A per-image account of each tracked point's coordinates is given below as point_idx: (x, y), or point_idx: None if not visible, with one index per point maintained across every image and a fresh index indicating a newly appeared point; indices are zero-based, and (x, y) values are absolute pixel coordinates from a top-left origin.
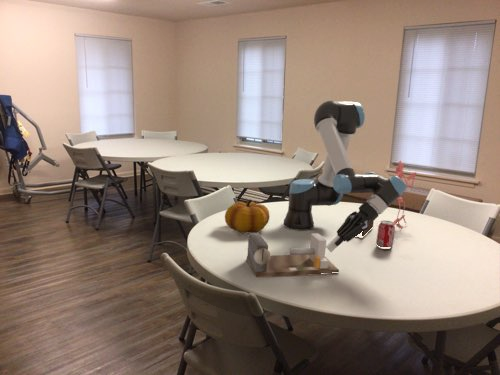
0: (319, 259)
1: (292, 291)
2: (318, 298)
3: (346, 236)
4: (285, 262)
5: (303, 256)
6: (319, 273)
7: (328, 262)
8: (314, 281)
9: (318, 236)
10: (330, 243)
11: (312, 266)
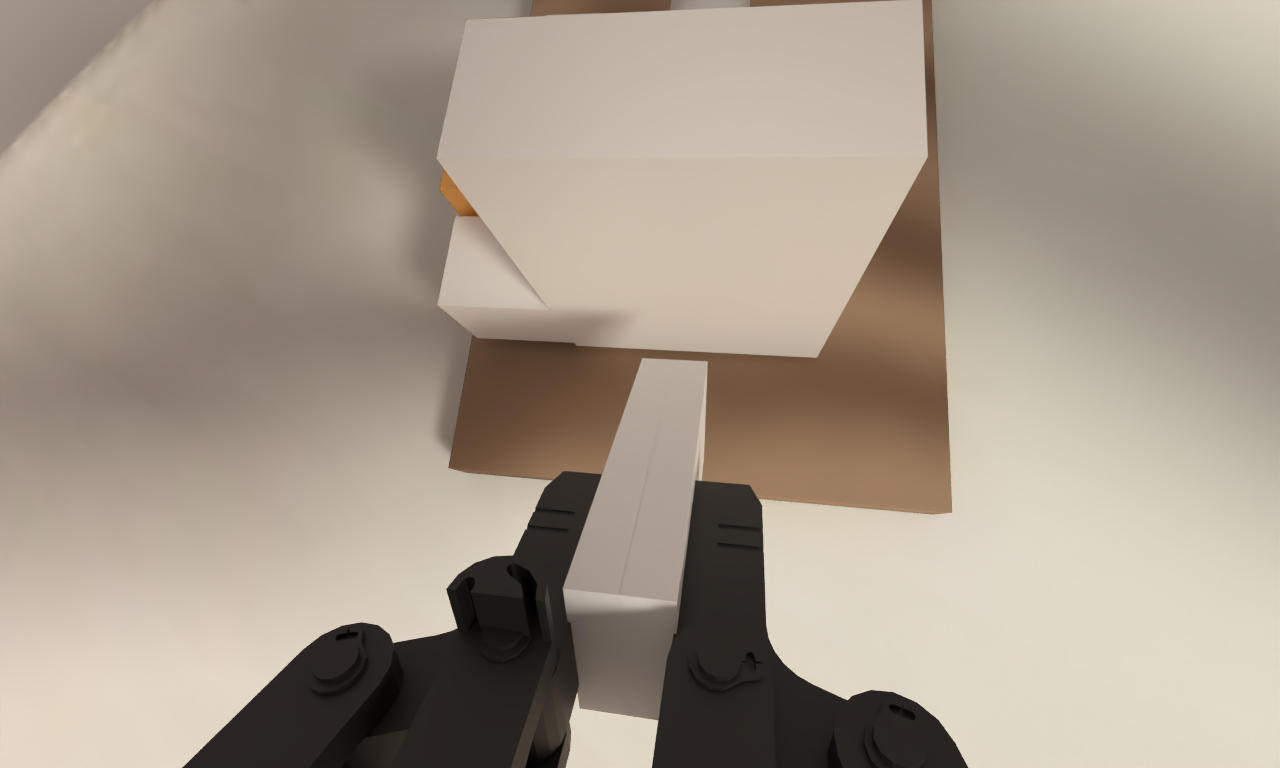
0: (448, 186)
1: (313, 4)
2: (172, 125)
3: (261, 702)
4: None
5: None
6: None
7: None
8: (394, 189)
9: (709, 88)
10: (660, 412)
11: None
